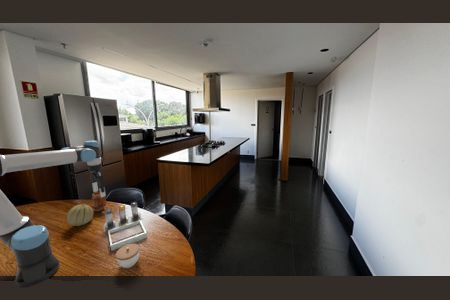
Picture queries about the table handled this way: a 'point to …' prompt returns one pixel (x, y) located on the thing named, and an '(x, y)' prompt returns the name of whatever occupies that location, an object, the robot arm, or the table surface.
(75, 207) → the cantaloupe
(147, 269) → the table surface
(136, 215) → the fuse right
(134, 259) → the lidded jar
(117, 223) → the fuse holder
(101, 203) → the mug
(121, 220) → the marked fuse
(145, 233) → the tray
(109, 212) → the fuse left
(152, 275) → the table surface
